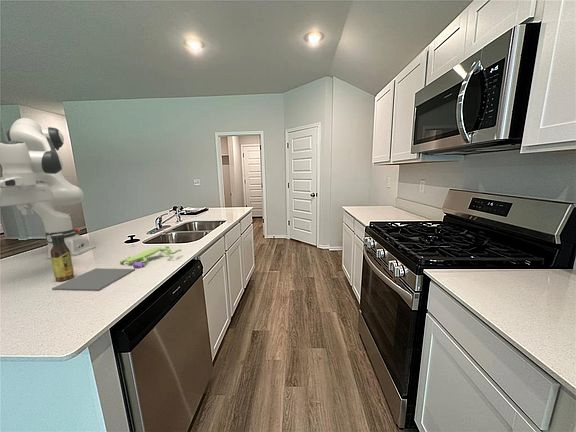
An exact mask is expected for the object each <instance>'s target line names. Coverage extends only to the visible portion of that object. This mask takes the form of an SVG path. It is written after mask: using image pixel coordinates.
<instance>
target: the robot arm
mask: <svg viewBox="0 0 576 432" xmlns="http://www.w3.org/2000/svg"><path fill="white" fill-rule="evenodd" d="M64 143H65V138H64V135H63V133H62V132H61V131H60V130H59V129H58V128H56V127H51V126H47V127H43V126H42V127H41V125H40V124H39V123H38V122H37V121H36V120H34V119H32V118H29V117H22V118H18V119H16V120H15V121H14V122H13V124H11V127H10V128H9V129H8V130H7V131H6V140H1V141H0V168H1V169H2V173H1V174H2V177H0V207H11V206H16V208H17V210H19V211H20V214H21V215H22V216H26V215H27V216H28V215H33V214H34V212H35V213H36V214H37V215H39V217H40V218H41V221H42V222H43V225H44V228H45V232H44V236H45V239H46V242H47V256H46V258H47V259H50V260H51V253H50V252H51V249H52V247H53V242H52V239H51V235H54V234H64V242H65V244H66V246H67V247H68V249H69V250H70V253H71V257H72V256H73V257H74V256H80V255H82V254H84V253H86V252H88V251H91V250H93V249H95V248H97V247H96V245H94V244H91V243H90V240H89V239H88V238H87V237H85V236H81V235H80V234H78V233H79V232H81V228H73V223H72V218H71V216H70V215H69V214H68V213H65V212H62V211H58V210H55V209H54V207H61V206H71V205H77V204H80V203H81V202H82V201H83V199H84V196H85V195H84V192H83V189H82V188H80V187H78V186H77V185H74V184H73V183H70V182H69V181H68V180H67V179H66V177H64V175H63V172H62V171H63V161H62V158H61V157H60V155H59V154H58V153H57V151H60V149H61V148H62V147H63V145H64ZM26 208H27V209H26ZM77 232H78V233H77Z"/></svg>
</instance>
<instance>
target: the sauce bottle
mask: <svg viewBox="0 0 576 432" xmlns="http://www.w3.org/2000/svg"><path fill="white" fill-rule="evenodd" d="M51 239H52V242H53V247H52V249H51V252H50V253H51V259H50V260H51V264H52V268H53V269H52V271H53V276H54V279H55V282H65V281H69V280H71V279H73V278H75V277H74V276H75V275H74V273H75V272H74V265H73V261H72V256H71V253H70V250H69V249H68V247H67V246H66V244H65V242H64V234H54V235H51Z"/></svg>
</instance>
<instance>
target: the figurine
mask: <svg viewBox="0 0 576 432" xmlns="http://www.w3.org/2000/svg"><path fill="white" fill-rule="evenodd" d="M159 251H160V252H163V253H164V252H165V253H164V254H165V255H167V256H170V255H174V254H177V253H178V252H182V249H181V248H179V249H176V250H174V251H173V252H171V251H172V250H171V248H170V246H168V245H166V246H165V247H163V248H162V247H154V248H150V249H147V250H144V251H143V252H139V253H137V254H135V255H133V256H130V255H129V256H128V257H127V258H124V259H122V260H120V261H119V264H123V263H125V262H126V263H133V264H132V265H133V266H132V267H133V268H132V269H140V268H144V267H145V265H146V263H145V262H147V261H148V258H150V257H151V256H152V255H155V254H156V253H158V252H159ZM142 259H143V260H142Z"/></svg>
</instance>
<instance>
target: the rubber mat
mask: <svg viewBox="0 0 576 432" xmlns="http://www.w3.org/2000/svg"><path fill="white" fill-rule="evenodd" d="M134 271H136V268H102V267H101V268H93V269H91V270H89V271H87V272H85V273H83V274H80V275H78V276H76V277H73V278H71V279H68V280H66V281H64V282H63V283H60V284H59V285H58V284H57V285H56V286H54V287H52V288H51V290H53V291H85V292H86V291H87V292H88V291H90V292H91V291H92V292H94V291H95V292H99V291H101V290H103V289H106V287H109V286H110V285H112V284H113V283H115V282H117V281H119V280H121V279H122V278H124V277H126V276H128V275H130V274H131V273H133V272H134Z"/></svg>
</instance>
